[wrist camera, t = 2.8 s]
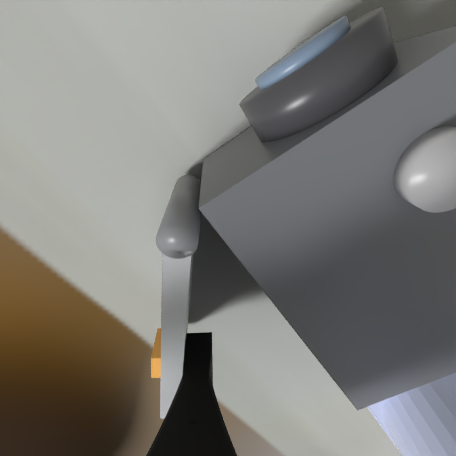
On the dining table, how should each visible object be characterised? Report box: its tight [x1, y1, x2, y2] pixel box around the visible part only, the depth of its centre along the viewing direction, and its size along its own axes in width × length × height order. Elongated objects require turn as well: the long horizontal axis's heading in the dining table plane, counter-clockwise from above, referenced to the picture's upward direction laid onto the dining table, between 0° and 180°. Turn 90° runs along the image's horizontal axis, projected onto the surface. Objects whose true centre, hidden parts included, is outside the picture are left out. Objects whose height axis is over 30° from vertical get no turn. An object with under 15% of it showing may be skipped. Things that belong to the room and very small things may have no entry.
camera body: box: [199, 7, 456, 410], centre depth 8 cm, size 11×6×5 cm, turn 33°
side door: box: [151, 175, 201, 418], centre depth 9 cm, size 8×1×4 cm, turn 173°
